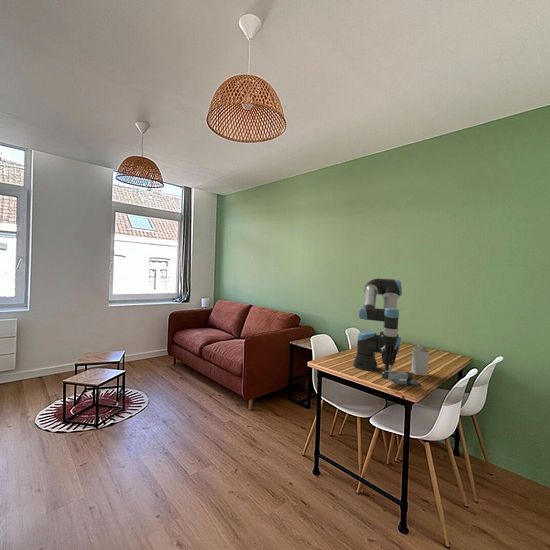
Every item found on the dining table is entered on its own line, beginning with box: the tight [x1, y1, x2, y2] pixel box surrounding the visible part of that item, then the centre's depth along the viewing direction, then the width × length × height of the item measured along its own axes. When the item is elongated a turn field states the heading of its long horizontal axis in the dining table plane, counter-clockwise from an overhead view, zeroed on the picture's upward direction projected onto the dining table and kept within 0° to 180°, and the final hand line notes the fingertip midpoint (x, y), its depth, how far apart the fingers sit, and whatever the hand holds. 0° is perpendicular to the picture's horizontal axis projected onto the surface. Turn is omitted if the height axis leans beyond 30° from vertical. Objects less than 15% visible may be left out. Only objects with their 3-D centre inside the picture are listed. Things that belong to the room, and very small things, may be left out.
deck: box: [388, 378, 422, 387], centre depth 172 cm, size 16×14×4 cm
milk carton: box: [410, 342, 430, 377], centre depth 186 cm, size 7×7×19 cm
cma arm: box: [381, 370, 414, 380], centre depth 164 cm, size 18×4×3 cm, turn 96°
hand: (387, 376), depth 167 cm, fingers closed
